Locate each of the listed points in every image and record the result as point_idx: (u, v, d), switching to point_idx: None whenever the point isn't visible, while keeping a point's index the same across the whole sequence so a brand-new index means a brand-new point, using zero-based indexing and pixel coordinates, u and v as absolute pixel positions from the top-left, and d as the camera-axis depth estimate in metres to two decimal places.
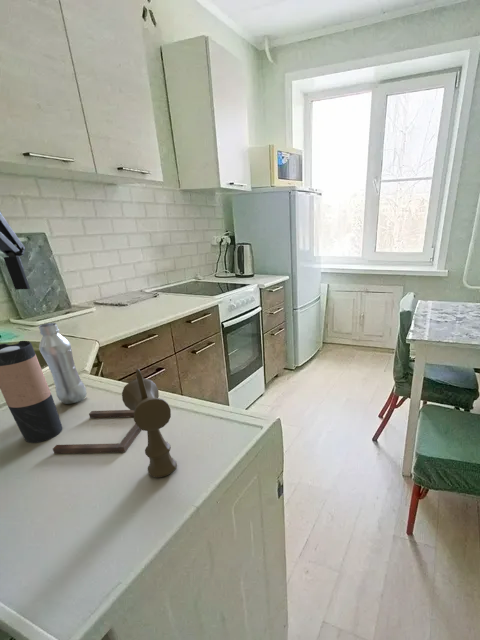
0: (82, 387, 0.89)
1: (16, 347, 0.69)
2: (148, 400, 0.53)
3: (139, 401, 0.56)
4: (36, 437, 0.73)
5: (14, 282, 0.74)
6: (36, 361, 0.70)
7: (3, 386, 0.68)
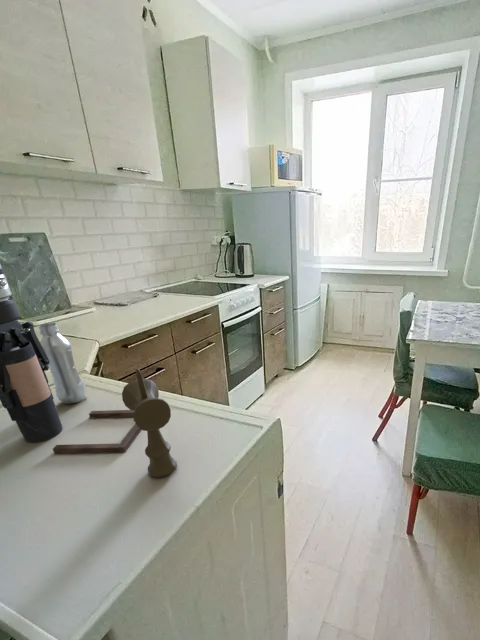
0: (82, 387, 0.89)
1: (16, 347, 0.69)
2: (148, 400, 0.53)
3: (139, 401, 0.56)
4: (36, 437, 0.73)
5: None
6: (36, 361, 0.70)
7: None
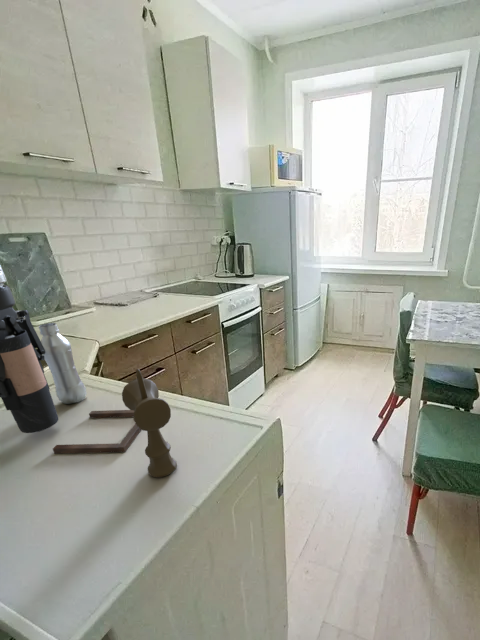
0: (82, 387, 0.89)
1: (11, 335, 0.68)
2: (148, 400, 0.53)
3: (139, 401, 0.56)
4: (31, 427, 0.72)
5: None
6: (31, 350, 0.69)
7: None
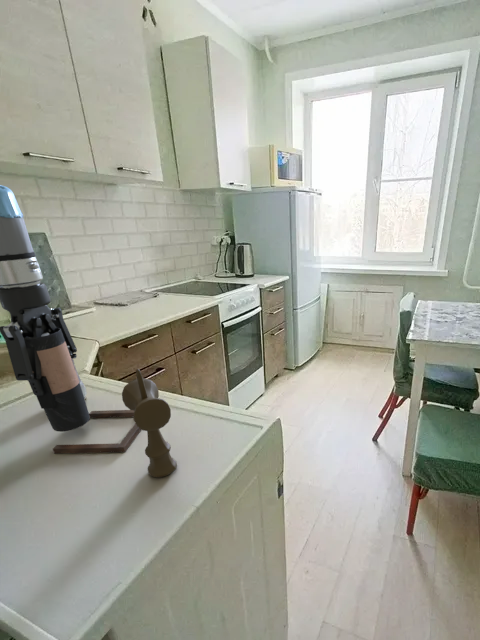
0: (82, 387, 0.89)
1: (46, 333, 0.67)
2: (148, 400, 0.53)
3: (139, 401, 0.56)
4: (65, 426, 0.72)
5: None
6: (66, 348, 0.69)
7: None
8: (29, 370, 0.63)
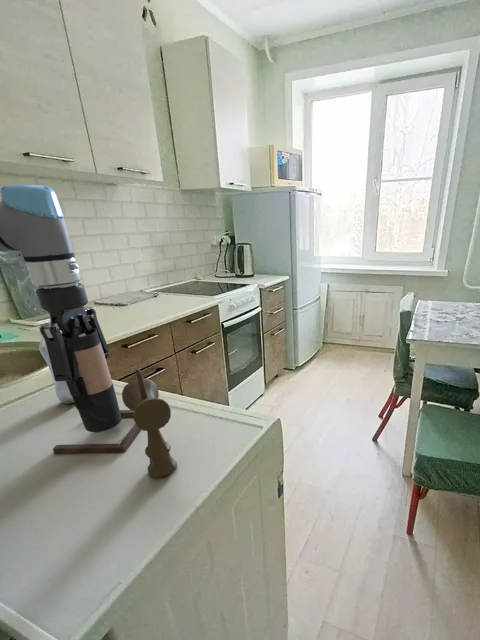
0: None
1: (82, 333, 0.67)
2: (148, 400, 0.53)
3: (139, 401, 0.56)
4: (99, 426, 0.72)
5: None
6: (101, 348, 0.69)
7: None
8: (68, 371, 0.62)
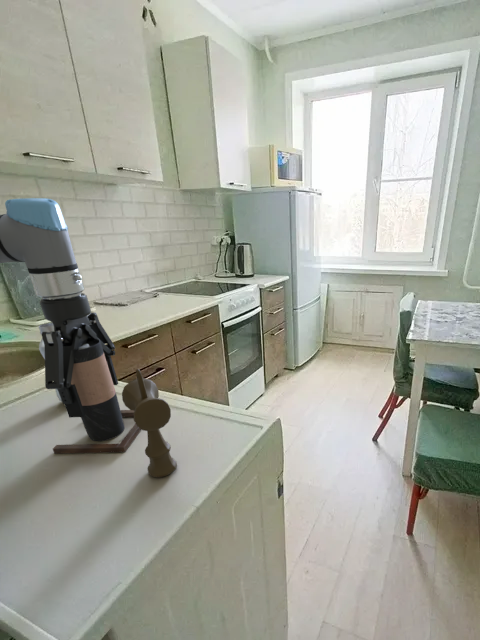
0: None
1: (86, 344, 0.68)
2: (148, 400, 0.53)
3: (139, 401, 0.56)
4: (102, 435, 0.73)
5: None
6: (104, 359, 0.70)
7: None
8: (61, 378, 0.61)
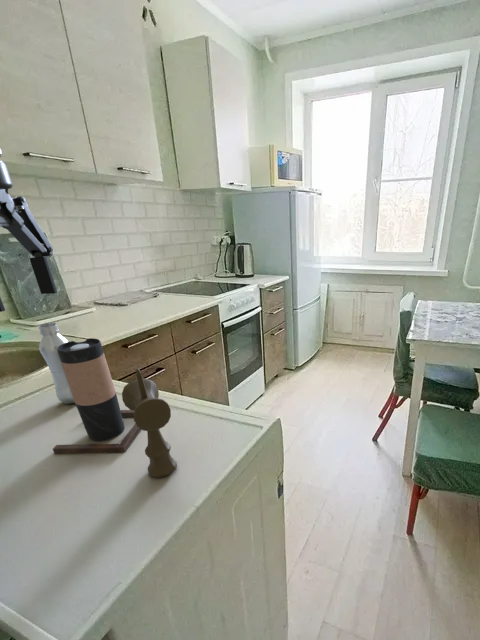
0: None
1: (86, 345, 0.68)
2: (148, 400, 0.53)
3: (139, 401, 0.56)
4: (102, 435, 0.73)
5: (40, 285, 0.67)
6: (104, 359, 0.70)
7: (73, 384, 0.67)
8: None
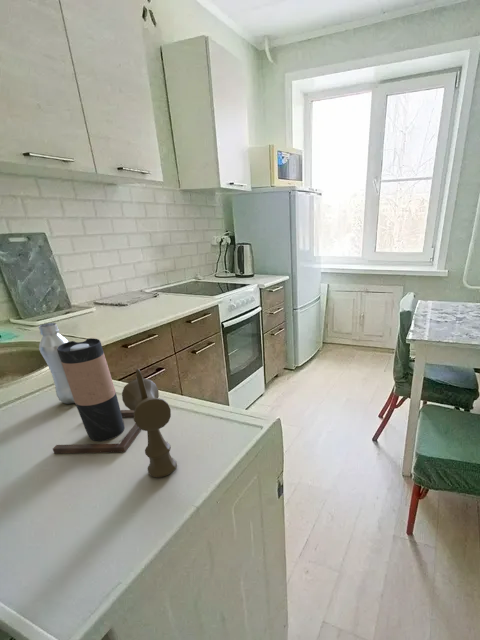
0: None
1: (86, 344, 0.68)
2: (148, 400, 0.53)
3: (139, 401, 0.56)
4: (102, 435, 0.73)
5: None
6: (104, 359, 0.70)
7: (73, 384, 0.67)
8: None
